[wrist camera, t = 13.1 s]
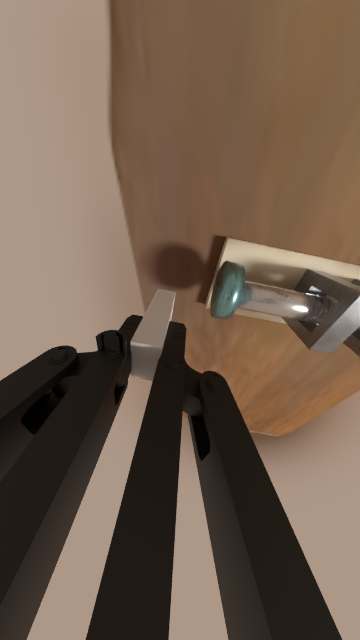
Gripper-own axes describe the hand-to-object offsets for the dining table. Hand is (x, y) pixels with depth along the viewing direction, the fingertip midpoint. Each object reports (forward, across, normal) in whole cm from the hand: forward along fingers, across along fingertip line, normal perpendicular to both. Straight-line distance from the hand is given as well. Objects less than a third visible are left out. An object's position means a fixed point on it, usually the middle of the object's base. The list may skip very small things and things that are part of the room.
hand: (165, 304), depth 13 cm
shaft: (+8, +13, 0) cm, 16 cm away
